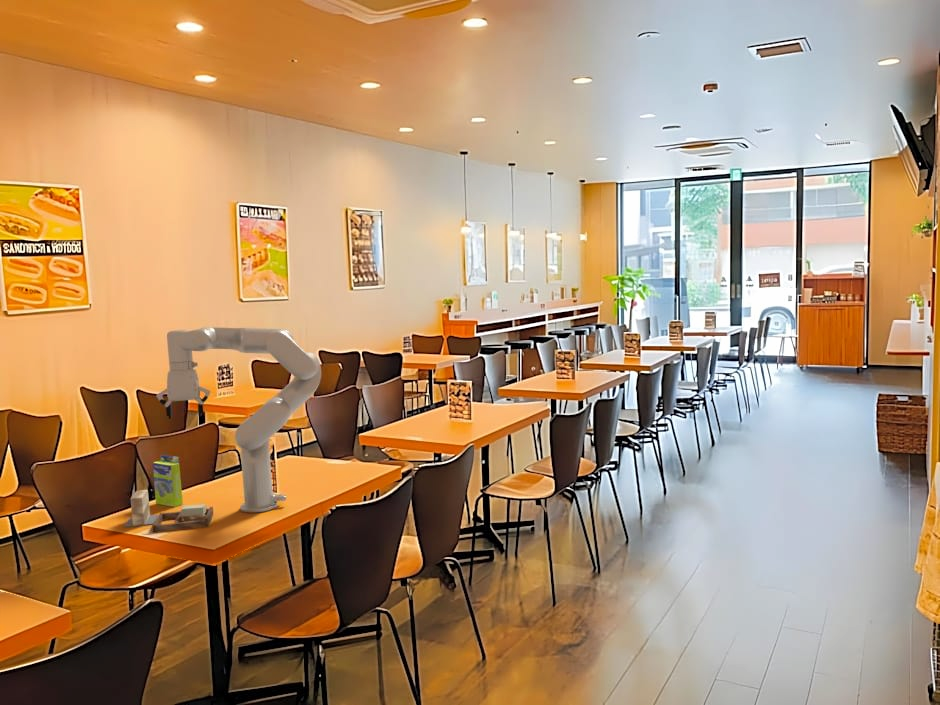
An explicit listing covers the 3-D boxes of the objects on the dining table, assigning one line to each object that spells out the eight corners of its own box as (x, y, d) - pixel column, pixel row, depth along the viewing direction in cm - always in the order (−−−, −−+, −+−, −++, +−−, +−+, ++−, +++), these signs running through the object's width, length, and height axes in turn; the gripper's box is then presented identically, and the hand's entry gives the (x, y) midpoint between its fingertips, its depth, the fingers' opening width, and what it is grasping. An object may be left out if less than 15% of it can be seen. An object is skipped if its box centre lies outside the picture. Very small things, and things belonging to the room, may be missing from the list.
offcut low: (197, 518, 266) (196, 509, 266) (206, 524, 259) (205, 515, 258) (183, 521, 263) (183, 512, 263) (192, 527, 256) (192, 518, 256)
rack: (213, 513, 269) (212, 506, 268) (208, 526, 255) (208, 518, 255) (160, 519, 265) (160, 511, 265) (152, 532, 252) (152, 524, 251)
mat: (158, 515, 269) (158, 514, 269) (152, 524, 260) (152, 523, 260) (130, 518, 268) (130, 517, 268) (123, 527, 258) (123, 526, 258)
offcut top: (184, 513, 262) (184, 505, 262) (206, 511, 262) (205, 504, 262) (181, 516, 258) (181, 509, 258) (203, 514, 259) (202, 507, 259)
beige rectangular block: (150, 515, 269) (147, 489, 268) (144, 524, 259) (141, 497, 258) (139, 516, 268) (136, 490, 267) (132, 525, 258) (130, 498, 257)
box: (155, 504, 284) (151, 456, 282) (165, 501, 287) (160, 454, 286) (174, 507, 278) (170, 459, 277) (184, 504, 282) (180, 456, 280)
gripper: (209, 363, 271) (213, 413, 273) (156, 367, 268) (160, 417, 270) (206, 366, 264) (210, 416, 266) (152, 369, 261) (156, 421, 262)
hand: (185, 416), depth 268 cm, fingers open, 9 cm apart
